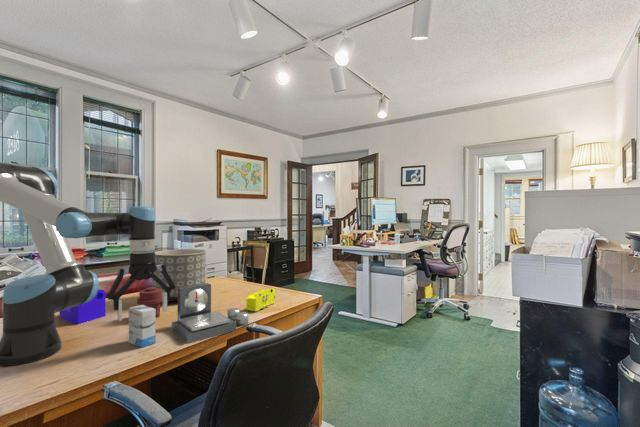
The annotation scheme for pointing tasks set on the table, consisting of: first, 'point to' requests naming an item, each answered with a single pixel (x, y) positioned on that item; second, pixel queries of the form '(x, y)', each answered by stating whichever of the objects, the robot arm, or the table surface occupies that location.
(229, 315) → the cylinder
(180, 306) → the base
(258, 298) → the yellow toy chassis
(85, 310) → the bracket
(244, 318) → the cylinder
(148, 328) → the ink box
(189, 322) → the scale pan
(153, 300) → the mechanical component
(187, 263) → the planter
